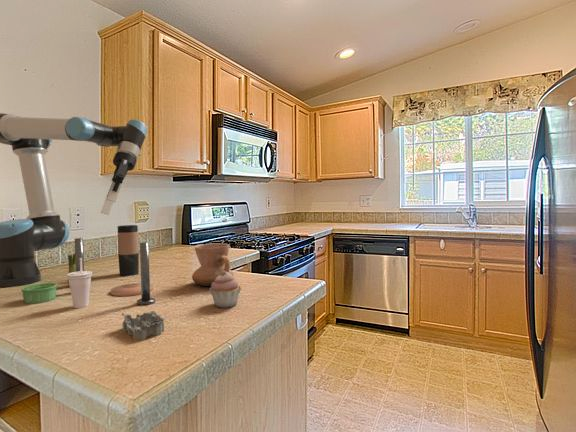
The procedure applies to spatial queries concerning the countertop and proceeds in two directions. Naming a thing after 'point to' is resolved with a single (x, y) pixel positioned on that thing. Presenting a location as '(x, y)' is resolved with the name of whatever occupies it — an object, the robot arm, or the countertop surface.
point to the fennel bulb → (71, 264)
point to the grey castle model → (143, 325)
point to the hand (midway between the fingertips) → (107, 207)
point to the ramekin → (39, 293)
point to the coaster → (128, 289)
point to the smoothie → (80, 287)
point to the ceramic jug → (211, 263)
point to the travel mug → (128, 250)
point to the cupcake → (225, 290)
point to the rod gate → (143, 263)
